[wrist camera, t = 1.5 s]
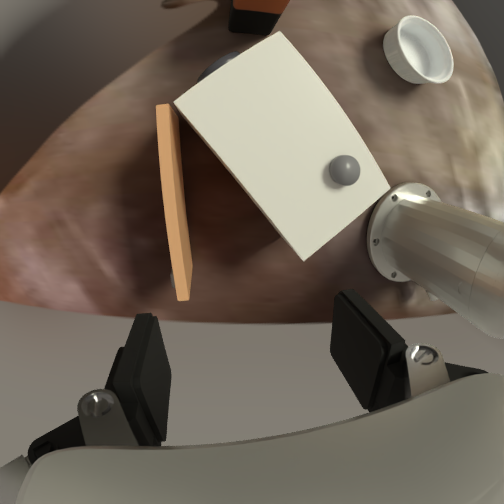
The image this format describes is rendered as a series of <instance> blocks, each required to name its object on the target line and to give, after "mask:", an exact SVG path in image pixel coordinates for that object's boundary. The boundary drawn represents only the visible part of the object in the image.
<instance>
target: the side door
mask: <svg viewBox="0 0 504 504" xmlns="http://www.w3.org/2000/svg"><path fill="white" fill-rule="evenodd" d="M156 116H157V134H158V149H159V162H160V173H161V183H162V193H163V202H164V211H165V219H166V227H167V235H168V242H169V249H170V256H171V262H172V270H171V273H170V277H171V283H172V288H176V293H177V298H178V301H185V300H189V296H190V286H191V277H192V268H193V264H192V256H191V249H190V240H189V232H188V223H187V214H186V204H185V194H184V184H183V172H182V160H181V146H180V131H179V117H178V116H177V115H176V113H175V112H174V111H173V109H172V108H171V106H170V105H169V104H162V105H156Z"/></svg>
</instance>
